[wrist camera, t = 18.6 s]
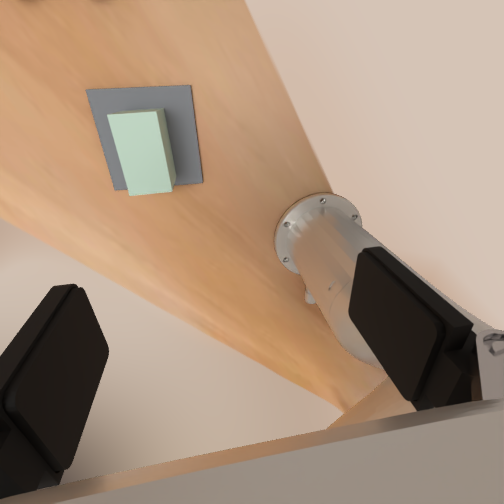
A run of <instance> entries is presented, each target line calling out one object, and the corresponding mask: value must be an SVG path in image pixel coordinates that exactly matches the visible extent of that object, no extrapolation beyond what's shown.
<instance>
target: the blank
mask: <svg viewBox="0 0 504 504" xmlns="http://www.w3.org/2000/svg"><path fill="white" fill-rule="evenodd" d="M107 117H108V120H109V124H110V128H111V131H112V135H113V138H114V142H115V145H116V149H117V152H118V156H119V159H120V163H121V167H122V170H123V174H124V177H125V181H126V184H127V188H128V191H129V195H130V196H134V195H144V194H154V193H163V192H172V191H173V187H174V183H175V179H176V171H175V166H174V160H173V155H172V150H171V144H170V139H169V134H168V129H167V123H166V118H165V113H164V108H157V109H142V110H127V111H120V112H116V113H112V114H108V115H107Z"/></svg>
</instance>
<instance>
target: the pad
mask: <svg viewBox="0 0 504 504" xmlns="http://www.w3.org/2000/svg"><path fill="white" fill-rule="evenodd" d="M86 93H87V96H88V100H89V103H90V107H91V110H92V114H93V117H94V120H95V124H96V127H97V131H98V134H99V138H100V141H101V145H102V148H103V151H104V155H105V158H106V162H107V165H108V169H109V172H110V175H111V179H112V182H113V186H114V189H115V190H127V189H128V188H127V184H126V181H125V177H124V174H123V170H122V167H121V163H120V159H119V156H118V152H117V149H116V145H115V142H114V138H113V135H112V131H111V128H110V124H109V120H108V117H107V115H108V114H112V113H116V112H120V111H127V110H142V109H157V108H164V113H165V118H166V123H167V129H168V134H169V139H170V144H171V150H172V155H173V160H174V166H175V171H176V179H175V183H174V185H185V184H197V183H203V179H202V171H201V164H200V156H199V148H198V140H197V133H196V125H195V117H194V109H193V102H192V94H191V86H190V85H182V86H159V87H136V88H112V89H89V90H86Z"/></svg>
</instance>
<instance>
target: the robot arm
mask: <svg viewBox="0 0 504 504" xmlns="http://www.w3.org/2000/svg"><path fill="white" fill-rule="evenodd" d="M321 199H322V200H321ZM286 221H287V222H286ZM285 222H286V223H285ZM274 246H275V251H276V253H277V256H278V258H279V260H280V261H281V263H282V264H283V265H284V266H285V267H286V268H287V269H288V270H290V271H291V272H293V273H296V274H299V275H301V277H302V278H303V280H304V284H305V285H306V289H305V299H304V300H305V302H307V303H310V304H314V303H317V305H318V307H319V309H320V310H321V312H322V314H323V316H324V318H325V319H326V321H327V323H328V325H329V326H330V328H331V330H332V331H333V333H334V335H335V337H336V338H337V340H338V341H339V343H340V344H341V346H342V347H343V348H344V349H345V350H346V351H347V352H348V353H349V354H351V355H352V356H353V357H355V358H356V359H358V360H360V361H362V362H364V363H366V364H369V365H372V366H374V367H378V368H381V369H384V370H385V371H386V373H387V374H388V377H387V378H386V379H385V380H384V381H383V382H382V383H381V384H380V385H378V386H377V387H376V388H375V389H374V391H372V392H371V393H370V394H369V395H367V396H366V397H365V398H364V399H362V400H361V401H360V402H358V403H357V404H356V405H355V406H353V407H352V408H351V409H350V410H348V411H347V412H346V413H345V414H343V415H342V416H341V417H340V418H338V419H337V420H336V421H335V422H334V423H333V424H331V425H330V426H329V427H328V428H327V429H326V430H321V431H316V432H311V433H306V434H301V435H296V436H291V437H286V438H281V439H276V440H272V441H267V442H262V443H257V444H252V445H247V446H242V447H237V448H232V449H228V450H223V451H218V452H213V453H208V454H203V455H198V456H194V457H189V458H184V459H179V460H175V461H170V462H165V463H161V464H156V465H151V466H146V467H141V468H136V469H132V470H127V471H122V472H117V473H113V474H108V475H103V476H98V477H94V478H89V479H85V480H80V481H76V482H71V483H67V484H63V485H59V484H60V481H61V478H62V475H63V472H64V470H66V469H68V468H69V467H70V466H71V464H72V461H73V459H74V456H75V453H76V450H77V447H78V444H79V441H80V438H81V436H82V432H83V430H84V427H85V423H86V421H87V418H88V415H89V412H90V409H91V406H92V403H93V400H94V397H95V394H96V391H97V388H98V385H99V383H100V380H101V377H102V374H103V371H104V368H105V365H106V362H107V359H108V355H109V348H108V344H107V342H106V340H105V337H104V335H103V333H102V330H101V328H100V325H99V323H98V321H97V318H96V316H95V314H94V311H93V309H92V307H91V304H90V302H89V299H88V297H87V295H86V293H85V290H84V289H83V288H81V287H80V288H78V286H77V285H76V284H67V285H59V286H53V287H52V288H51V289H50V291H49V292H48V293H47V295H46V296H45V297H44V299H43V300H42V301H41V303H40V304H39V305H38V307H37V308H36V309H35V311H34V312H33V313H32V315H31V316H30V317H29V319H28V320H27V321H26V323H25V324H24V325H23V327H22V328H21V329H20V331H19V332H18V333H17V335H16V336H15V337H14V339H13V340H12V342H11V343H10V344H9V345H8V347H7V348H6V349H5V351H4V352H3V353H2V355H1V356H0V504H504V331H502V330H496V329H494V328H492V327H491V326H489V325H487V324H486V323H484V322H483V321H481V320H480V319H478V318H477V317H475V316H474V315H472V314H471V313H469V312H467V311H466V310H465V309H463V308H462V307H460V306H459V305H457V304H456V303H455V302H454V301H452V300H451V299H450V298H448V297H447V296H446V295H444V294H443V293H442V292H441V291H439V290H438V289H437V288H435V287H434V286H433V285H431V284H430V283H429V282H428V281H427V280H425V279H424V278H423V277H422V276H420V275H419V274H418V273H417V272H415V271H414V270H413V269H412V268H411V267H409V266H408V265H407V264H406V263H405V262H403V261H402V260H401V259H400V258H398V257H397V256H396V255H395V254H394V253H392V252H391V251H390V250H389V249H387V248H386V247H385V246H384V245H383V244H381V243H380V242H379V241H378V240H377V239H375V238H374V237H373V236H372V235H370V234H369V233H368V232H367V231H366V230H364V229H363V228H362V221H361V217H360V215H359V212H358V210H357V209H356V207H355V206H354V205H353V204H352V203H351V202H349V201H348V200H347V199H345V198H344V197H342V196H339V195H336V194H331V193H318V194H314V195H310V196H307V197H305V198H303V199H301V200H299V201H298V202H296V203H295V204H293V205H292V206H291V207H290V208H289V209H288V210H287V211H286V212H285V213H284V215H283V216H282V217H281V219H280V221H279V223H278V225H277V228H276V231H275V236H274ZM57 485H58V486H57ZM52 486H54V487H52ZM47 487H49V488H47ZM42 488H45V489H42ZM37 489H41V490H37Z"/></svg>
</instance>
